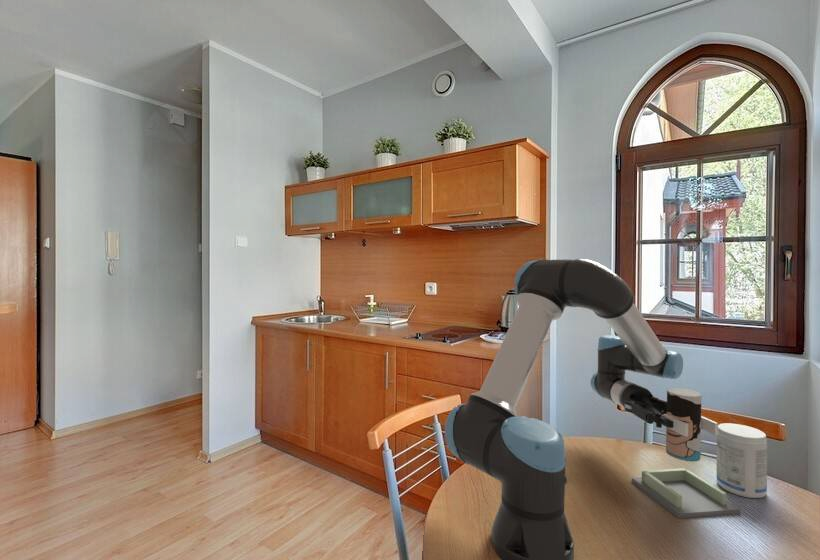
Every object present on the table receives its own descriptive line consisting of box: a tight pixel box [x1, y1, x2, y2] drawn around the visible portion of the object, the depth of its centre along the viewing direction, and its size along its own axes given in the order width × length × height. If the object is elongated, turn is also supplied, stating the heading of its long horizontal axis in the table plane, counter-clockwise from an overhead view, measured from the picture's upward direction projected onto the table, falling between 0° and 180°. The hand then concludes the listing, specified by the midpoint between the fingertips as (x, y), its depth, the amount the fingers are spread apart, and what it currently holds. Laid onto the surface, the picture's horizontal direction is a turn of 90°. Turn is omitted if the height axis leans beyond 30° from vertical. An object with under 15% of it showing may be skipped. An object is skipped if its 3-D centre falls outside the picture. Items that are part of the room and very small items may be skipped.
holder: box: [631, 467, 741, 519], centre depth 94 cm, size 15×15×4 cm
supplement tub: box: [716, 422, 768, 499], centre depth 97 cm, size 10×10×15 cm
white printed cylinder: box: [665, 387, 703, 462], centre depth 94 cm, size 7×7×15 cm
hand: (701, 429), depth 89 cm, fingers closed on white printed cylinder, 7 cm apart
